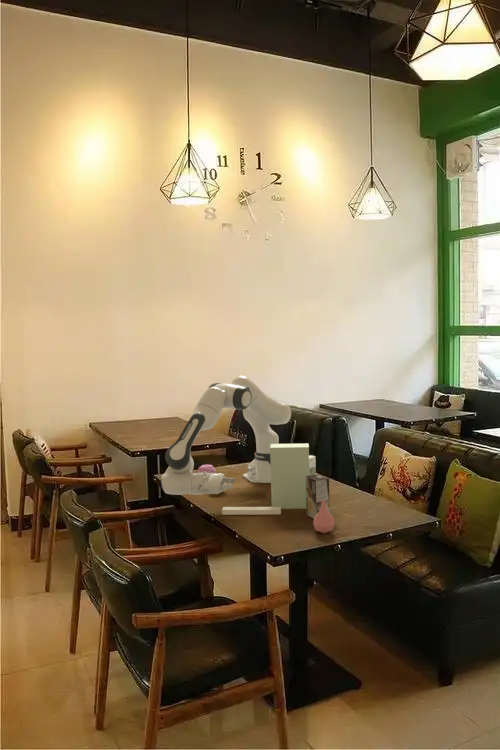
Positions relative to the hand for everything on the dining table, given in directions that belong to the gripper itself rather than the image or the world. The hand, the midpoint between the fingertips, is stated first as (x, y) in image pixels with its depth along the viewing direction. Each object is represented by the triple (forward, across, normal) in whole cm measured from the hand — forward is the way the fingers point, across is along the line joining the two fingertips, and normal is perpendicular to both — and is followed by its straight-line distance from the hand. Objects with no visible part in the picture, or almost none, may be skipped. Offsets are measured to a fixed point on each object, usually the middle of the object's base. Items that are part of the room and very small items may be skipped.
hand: (233, 483), depth 268 cm
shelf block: (+23, +10, +13) cm, 28 cm away
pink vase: (+36, -24, +13) cm, 45 cm away
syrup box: (+31, +42, +13) cm, 53 cm away
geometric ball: (-10, +32, +13) cm, 36 cm away
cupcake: (-18, +47, +13) cm, 52 cm away
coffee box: (+34, -5, +13) cm, 37 cm away
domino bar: (+7, 0, +10) cm, 13 cm away
